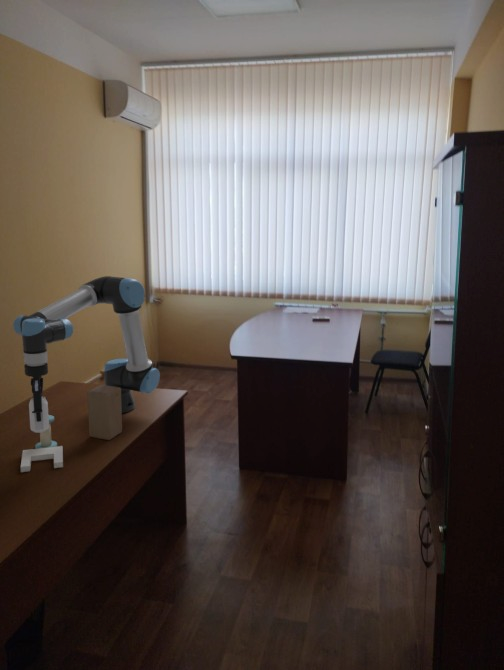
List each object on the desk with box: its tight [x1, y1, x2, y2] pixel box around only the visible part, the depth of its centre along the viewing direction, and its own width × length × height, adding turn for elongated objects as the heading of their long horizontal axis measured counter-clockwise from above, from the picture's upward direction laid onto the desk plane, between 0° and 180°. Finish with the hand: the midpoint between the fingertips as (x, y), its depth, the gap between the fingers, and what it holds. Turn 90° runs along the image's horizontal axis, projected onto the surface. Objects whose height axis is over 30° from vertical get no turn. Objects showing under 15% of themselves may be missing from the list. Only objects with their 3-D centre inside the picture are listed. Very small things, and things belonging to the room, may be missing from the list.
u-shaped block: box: [20, 445, 64, 473], centre depth 198 cm, size 14×14×2 cm
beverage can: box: [28, 396, 49, 434], centre depth 191 cm, size 6×6×12 cm
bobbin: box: [34, 414, 58, 449], centre depth 208 cm, size 8×8×12 cm
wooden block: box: [87, 384, 123, 441], centre depth 220 cm, size 10×10×20 cm
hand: (39, 425), depth 192 cm, fingers closed on beverage can, 6 cm apart
